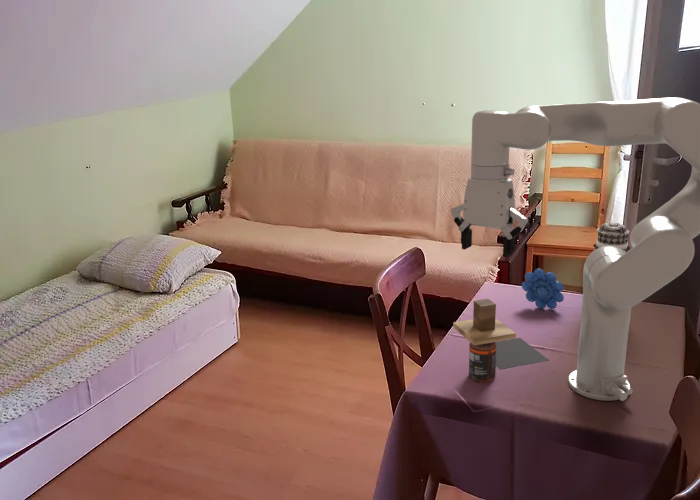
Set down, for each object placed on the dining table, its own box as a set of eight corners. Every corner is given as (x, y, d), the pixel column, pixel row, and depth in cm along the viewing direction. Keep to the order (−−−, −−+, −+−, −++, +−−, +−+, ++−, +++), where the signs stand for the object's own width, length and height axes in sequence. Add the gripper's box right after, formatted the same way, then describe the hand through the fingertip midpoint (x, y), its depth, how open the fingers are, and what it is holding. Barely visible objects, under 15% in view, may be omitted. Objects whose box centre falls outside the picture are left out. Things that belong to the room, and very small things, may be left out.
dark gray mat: (549, 361, 150) (549, 360, 150) (500, 370, 146) (500, 369, 146) (520, 339, 162) (520, 337, 162) (474, 347, 158) (474, 345, 158)
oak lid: (515, 338, 137) (517, 307, 135) (474, 345, 134) (475, 314, 132) (492, 320, 146) (493, 291, 144) (453, 327, 143) (453, 297, 141)
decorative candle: (619, 320, 171) (629, 231, 163) (584, 313, 176) (592, 227, 168) (626, 308, 178) (635, 222, 171) (591, 302, 183) (599, 219, 175)
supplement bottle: (493, 371, 146) (495, 327, 143) (496, 384, 140) (498, 338, 137) (467, 371, 147) (468, 326, 143) (469, 384, 141) (470, 338, 138)
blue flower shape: (518, 312, 178) (520, 272, 174) (521, 303, 184) (523, 264, 180) (562, 316, 174) (565, 275, 170) (563, 307, 180) (566, 267, 176)
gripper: (537, 173, 127) (532, 254, 132) (461, 165, 137) (460, 241, 142) (521, 179, 121) (516, 263, 126) (443, 171, 132) (442, 249, 137)
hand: (486, 251), depth 134 cm, fingers open, 9 cm apart
